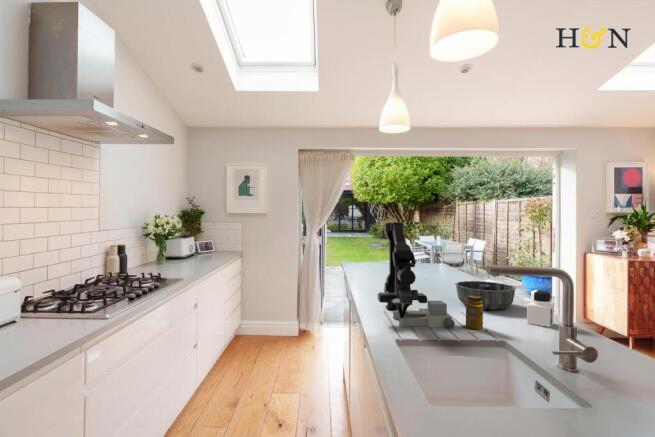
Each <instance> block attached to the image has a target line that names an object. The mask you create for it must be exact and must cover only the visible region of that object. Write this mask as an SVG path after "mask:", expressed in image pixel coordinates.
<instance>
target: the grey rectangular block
mask: <svg viewBox="0 0 655 437" xmlns="http://www.w3.org/2000/svg"><path fill="white" fill-rule="evenodd" d="M404 317H405V318H406V317H425V313H424V312H422V311H419V310H408V309H407V310H406V312H405V315H404Z"/></svg>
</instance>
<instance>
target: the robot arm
mask: <svg viewBox="0 0 655 437" xmlns="http://www.w3.org/2000/svg"><path fill="white" fill-rule="evenodd" d="M383 231H384V233H385V238H386V239H387V241H388V260H389V261H388V262H389V263H388V264H389V265H388V266H389V267H388V269H389V273H388V275H387V277H386V279H385V282H384V286H383V292H378V293H377V300H378V302H379V303H381V304H382V303H386V304H385V309H386V310H387V311H398V313H399V316H400V318H403V317H404V315H405V312H406V310H408V308H409V306H413V301H417V302H418V303H419V304H428V296H427V295H426V294H424V293H423V292H419V291H418V290H417V289H412V288H411V285H413V284H414V283H415V282H416V280H417V279H416V273H414V271H413V270H412V268H416V263H417V262H416V258H415V254H414V251H412V248H411V246H410V245H409V244H408V243H407V242H406V237H405V233H404V232H405V224H404V223H403V222H401V221H393V222H391V221H390V222H386V223H385V224H384V227H383Z"/></svg>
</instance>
